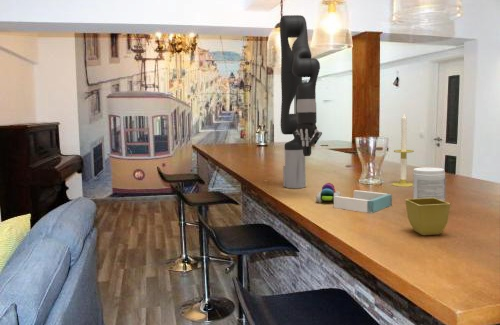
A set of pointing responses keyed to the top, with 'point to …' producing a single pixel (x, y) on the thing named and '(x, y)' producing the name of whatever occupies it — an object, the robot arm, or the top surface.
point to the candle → (403, 155)
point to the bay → (364, 201)
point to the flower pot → (427, 215)
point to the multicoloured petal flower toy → (327, 193)
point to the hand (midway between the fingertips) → (307, 155)
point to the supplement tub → (429, 183)
